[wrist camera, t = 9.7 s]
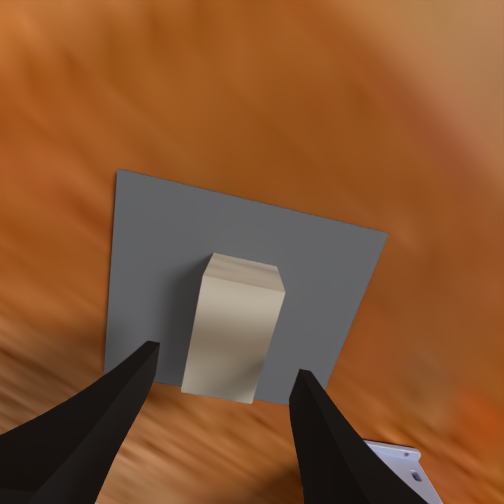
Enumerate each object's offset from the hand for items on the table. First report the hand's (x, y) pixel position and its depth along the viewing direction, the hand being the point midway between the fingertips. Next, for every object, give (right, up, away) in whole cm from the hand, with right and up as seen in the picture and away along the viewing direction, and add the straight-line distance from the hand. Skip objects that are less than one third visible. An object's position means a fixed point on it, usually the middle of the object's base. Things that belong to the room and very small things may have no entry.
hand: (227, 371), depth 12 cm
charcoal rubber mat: (0, +2, +6) cm, 7 cm away
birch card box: (0, +2, +6) cm, 6 cm away
